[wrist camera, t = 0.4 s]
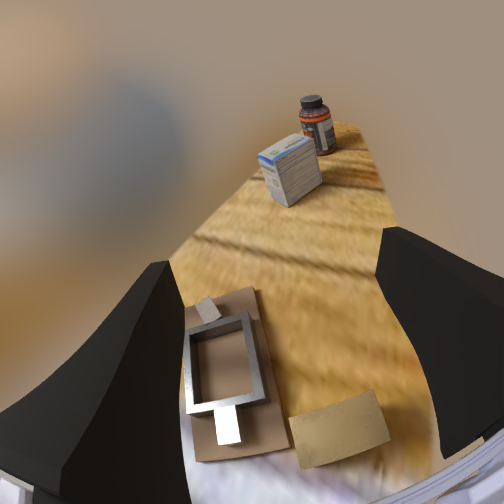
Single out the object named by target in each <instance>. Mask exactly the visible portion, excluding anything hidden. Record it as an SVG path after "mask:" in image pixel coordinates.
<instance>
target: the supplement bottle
mask: <svg viewBox="0 0 504 504" xmlns="http://www.w3.org/2000/svg"><path fill="white" fill-rule="evenodd" d="M300 102H301V106H302V109H301V110H300V112H299V117H300V121H301V125H302V129H303V132H304V136H307V137H310V138H313V141H314V145H315V150H316V154H317V155H326V154H330V153H332V152H333V151H334V150H336V148H337V144H336V138H335V133H334V128H333V123H332V118H331V115H330V110H329V108H328V107H327V106H326V105H323V104H322V102H323V101H322V98H321V96H319V95H309V96H306V97H303V98H302V99H301V100H300Z"/></svg>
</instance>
